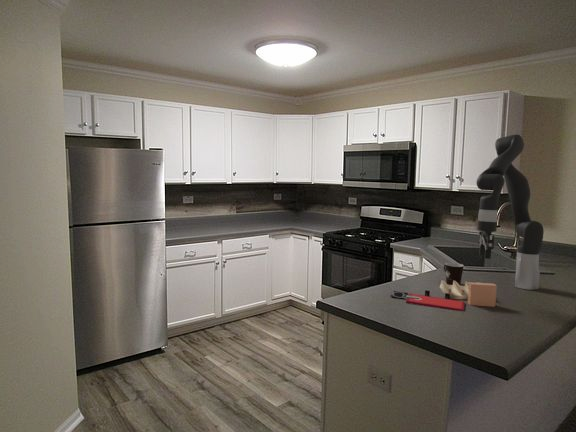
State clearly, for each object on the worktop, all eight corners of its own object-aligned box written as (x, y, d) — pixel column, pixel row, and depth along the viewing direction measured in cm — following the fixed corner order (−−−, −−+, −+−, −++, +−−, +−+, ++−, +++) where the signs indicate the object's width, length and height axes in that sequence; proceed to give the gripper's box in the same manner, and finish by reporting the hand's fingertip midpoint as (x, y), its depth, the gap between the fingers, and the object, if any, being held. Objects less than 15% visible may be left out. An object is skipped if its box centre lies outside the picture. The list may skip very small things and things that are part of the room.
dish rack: (479, 289, 188) (479, 281, 188) (491, 301, 171) (492, 292, 170) (439, 287, 191) (440, 279, 191) (448, 298, 174) (448, 289, 173)
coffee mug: (464, 287, 192) (465, 267, 191) (445, 285, 194) (446, 266, 193) (459, 281, 204) (460, 262, 203) (441, 280, 205) (442, 261, 204)
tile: (492, 304, 166) (494, 283, 166) (495, 306, 164) (496, 285, 163) (467, 302, 168) (469, 282, 167) (469, 305, 165) (471, 284, 164)
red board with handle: (394, 291, 184) (388, 301, 170) (394, 285, 183) (388, 295, 170) (464, 302, 171) (463, 313, 157) (465, 295, 171) (464, 306, 157)
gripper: (502, 222, 163) (499, 260, 164) (492, 219, 177) (489, 254, 178) (482, 221, 164) (479, 259, 166) (474, 218, 178) (471, 253, 180)
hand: (484, 256), depth 172 cm, fingers open, 8 cm apart
